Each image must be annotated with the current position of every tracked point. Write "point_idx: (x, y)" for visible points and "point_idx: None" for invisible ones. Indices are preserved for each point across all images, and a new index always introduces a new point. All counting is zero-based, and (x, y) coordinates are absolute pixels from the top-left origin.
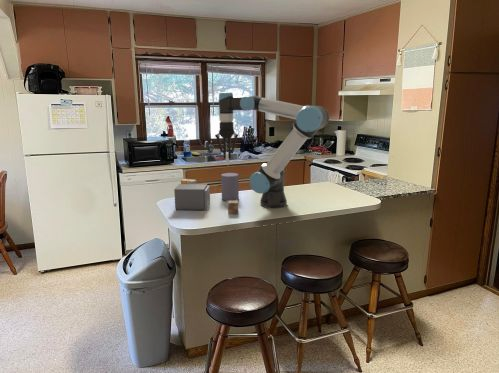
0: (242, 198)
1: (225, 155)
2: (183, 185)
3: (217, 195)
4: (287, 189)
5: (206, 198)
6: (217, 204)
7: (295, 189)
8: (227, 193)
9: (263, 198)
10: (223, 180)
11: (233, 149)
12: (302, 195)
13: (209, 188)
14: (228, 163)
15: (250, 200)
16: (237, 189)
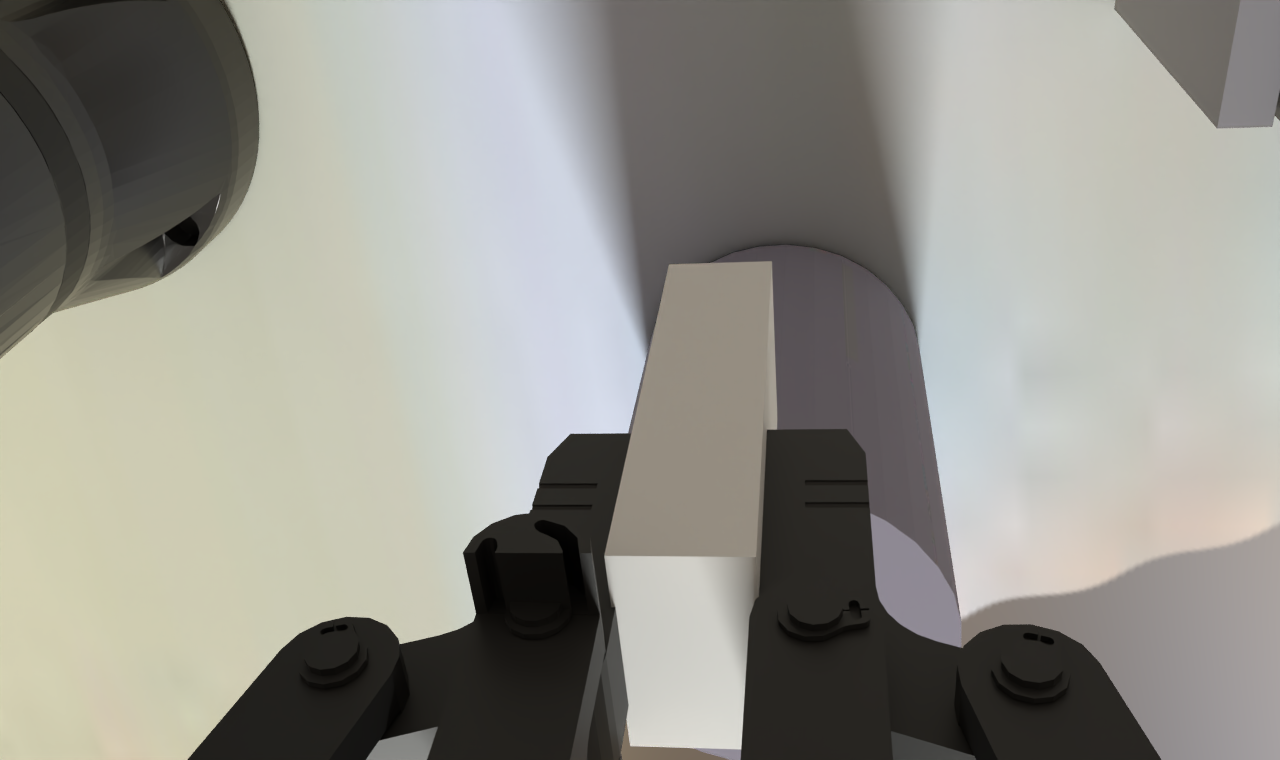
0: (594, 379)
1: (781, 520)
2: None
3: (1000, 523)
4: (108, 749)
5: None
6: (974, 24)
7: (18, 745)
8: (812, 303)
9: (113, 4)
10: (897, 470)
11: (254, 711)
12: None
13: (1204, 72)
14: (669, 285)
15: (454, 280)
16: (637, 403)
